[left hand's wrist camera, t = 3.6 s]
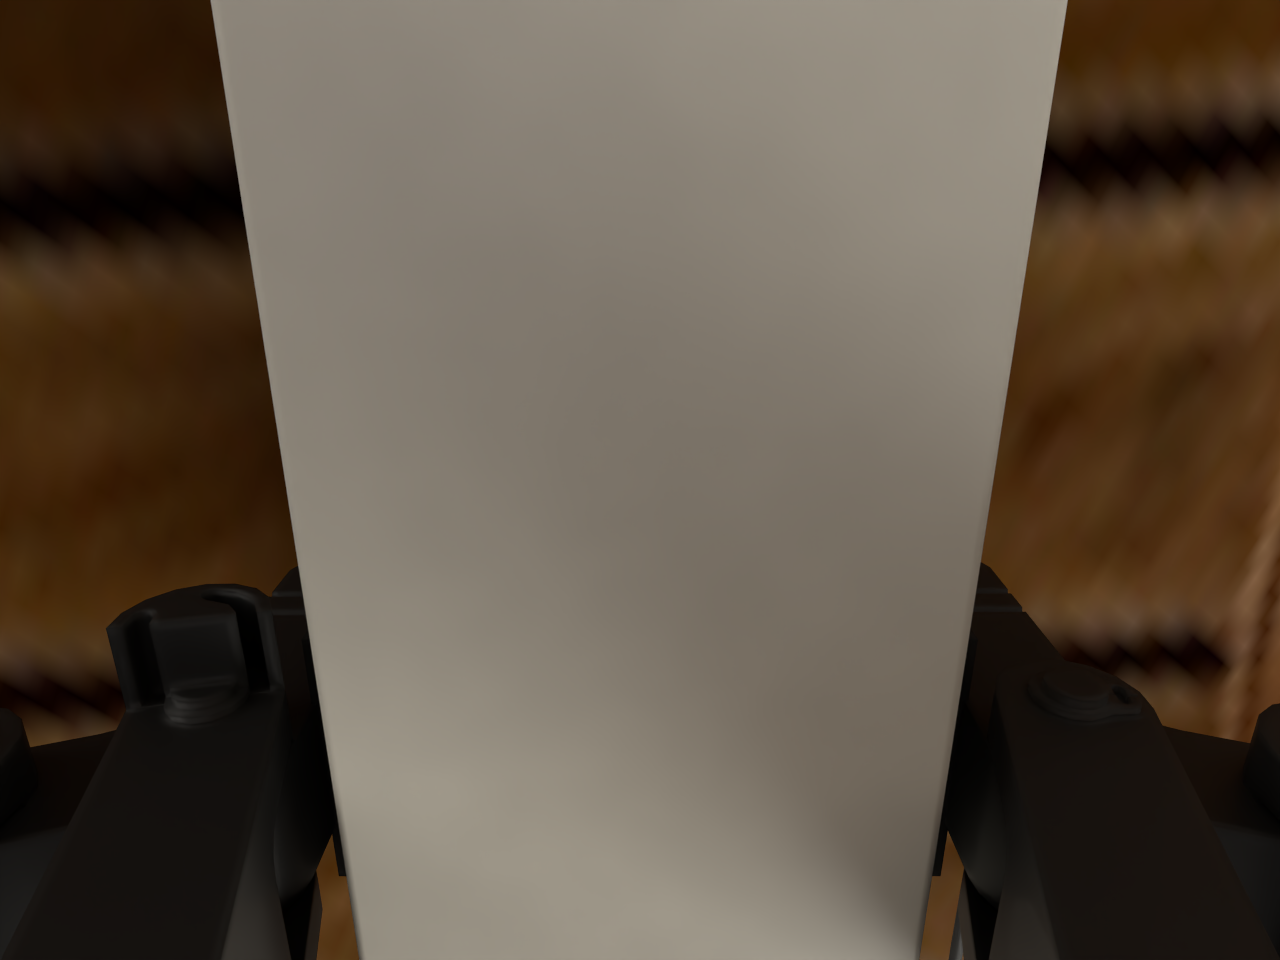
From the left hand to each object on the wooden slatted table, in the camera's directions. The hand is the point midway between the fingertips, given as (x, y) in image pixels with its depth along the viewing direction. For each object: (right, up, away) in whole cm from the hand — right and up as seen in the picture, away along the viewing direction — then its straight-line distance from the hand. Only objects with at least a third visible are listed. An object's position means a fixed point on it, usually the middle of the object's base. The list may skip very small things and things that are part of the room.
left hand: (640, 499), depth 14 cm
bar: (0, +23, -8) cm, 25 cm away
